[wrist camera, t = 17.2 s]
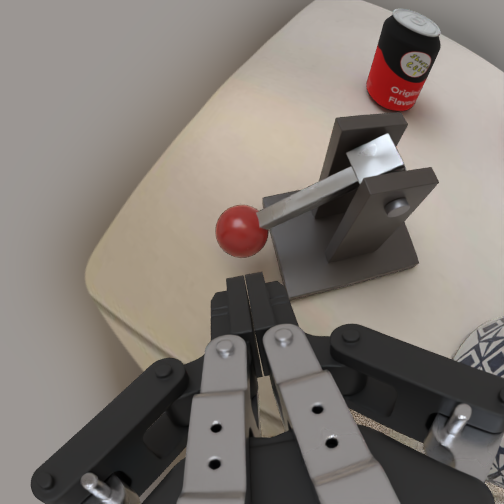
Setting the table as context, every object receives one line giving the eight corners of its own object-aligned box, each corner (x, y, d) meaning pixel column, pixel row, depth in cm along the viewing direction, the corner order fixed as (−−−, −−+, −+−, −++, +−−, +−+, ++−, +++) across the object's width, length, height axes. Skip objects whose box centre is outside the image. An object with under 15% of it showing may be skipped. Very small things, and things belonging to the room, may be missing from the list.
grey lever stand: (287, 301, 26) (307, 251, 14) (262, 203, 28) (259, 102, 16) (413, 266, 26) (497, 205, 14) (381, 180, 29) (431, 89, 17)
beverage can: (355, 94, 33) (376, 13, 21) (378, 74, 34) (401, 1, 23) (399, 124, 31) (435, 45, 20) (419, 101, 32) (452, 30, 21)
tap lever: (242, 267, 23) (209, 261, 21) (232, 223, 25) (200, 212, 22) (415, 193, 17) (408, 171, 14) (392, 145, 18) (380, 117, 15)
